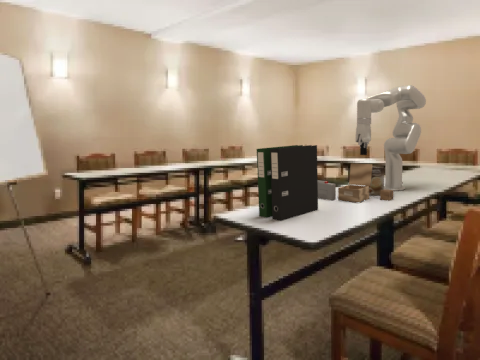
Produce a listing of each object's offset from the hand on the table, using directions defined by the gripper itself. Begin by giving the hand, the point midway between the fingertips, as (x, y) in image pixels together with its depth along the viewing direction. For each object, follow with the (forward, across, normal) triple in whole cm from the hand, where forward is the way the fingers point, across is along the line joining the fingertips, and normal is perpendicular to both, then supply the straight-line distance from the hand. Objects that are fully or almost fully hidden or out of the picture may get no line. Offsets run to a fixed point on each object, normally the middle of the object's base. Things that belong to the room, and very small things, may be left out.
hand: (363, 154), depth 200 cm
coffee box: (+24, -8, +3) cm, 25 cm away
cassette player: (+24, +16, -16) cm, 33 cm away
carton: (+24, +11, 0) cm, 26 cm away
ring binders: (+25, +55, -10) cm, 61 cm away
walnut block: (+24, +1, +14) cm, 28 cm away
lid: (+11, +4, 0) cm, 11 cm away
